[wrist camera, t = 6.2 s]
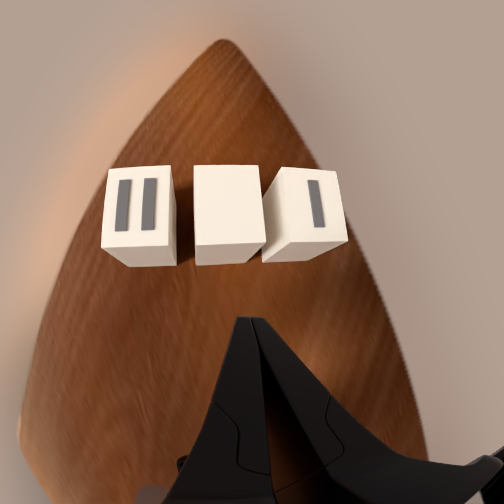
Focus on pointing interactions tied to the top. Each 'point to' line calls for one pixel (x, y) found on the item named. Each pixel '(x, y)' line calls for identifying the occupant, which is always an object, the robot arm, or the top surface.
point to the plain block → (227, 214)
